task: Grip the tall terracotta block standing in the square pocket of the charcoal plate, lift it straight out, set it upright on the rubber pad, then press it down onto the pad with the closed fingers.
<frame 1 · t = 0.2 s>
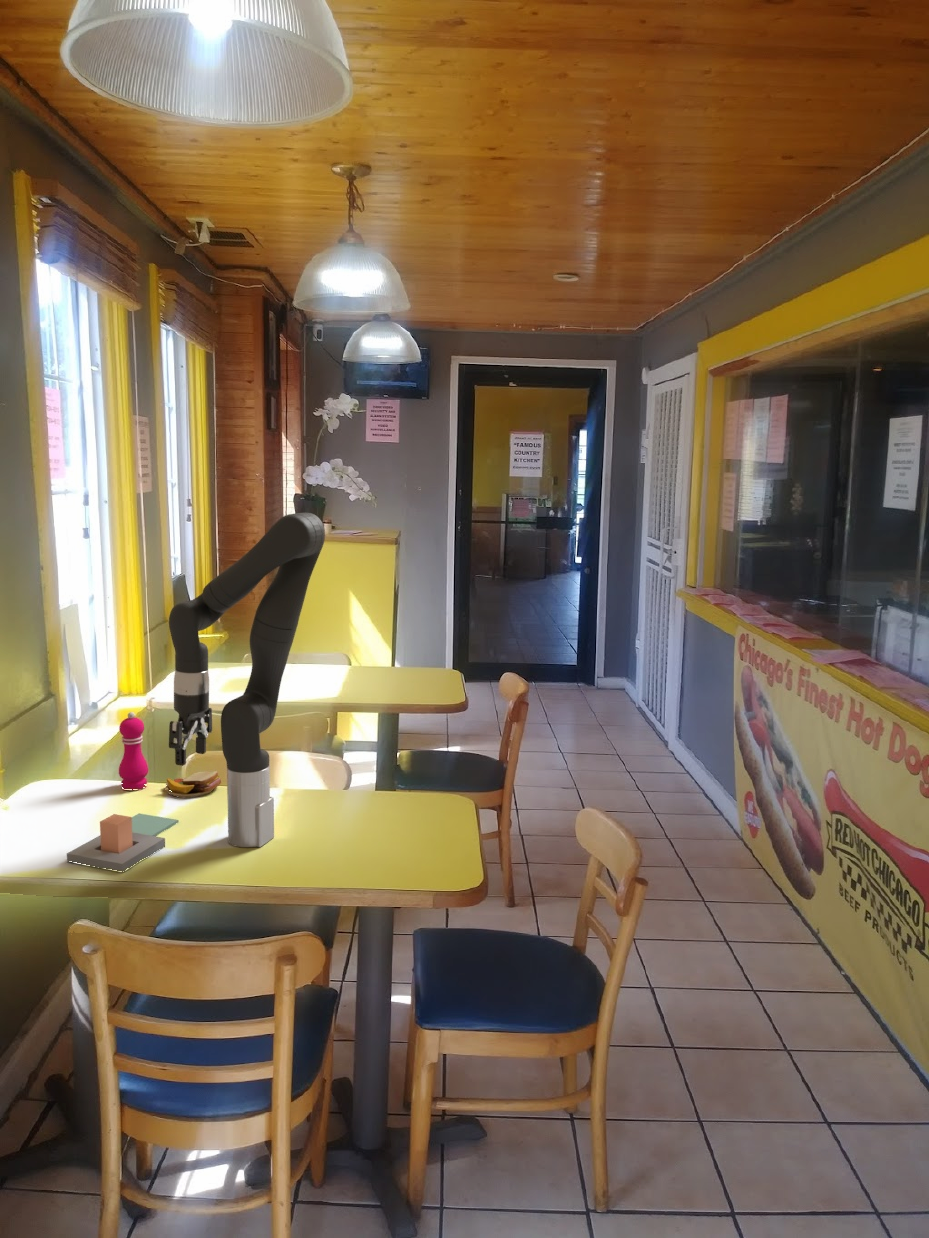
hand: (190, 758, 205), 17 cm above the table, tool pointing down, fingers open, 8 cm apart
toy sandwich meal: (193, 791, 235), on the table
pepper mill: (134, 787, 236), on the table
rubber pad: (143, 827, 210), on the table
terracotta block: (116, 836, 195), in the pocket plate
pocket plate: (117, 854, 196), on the table
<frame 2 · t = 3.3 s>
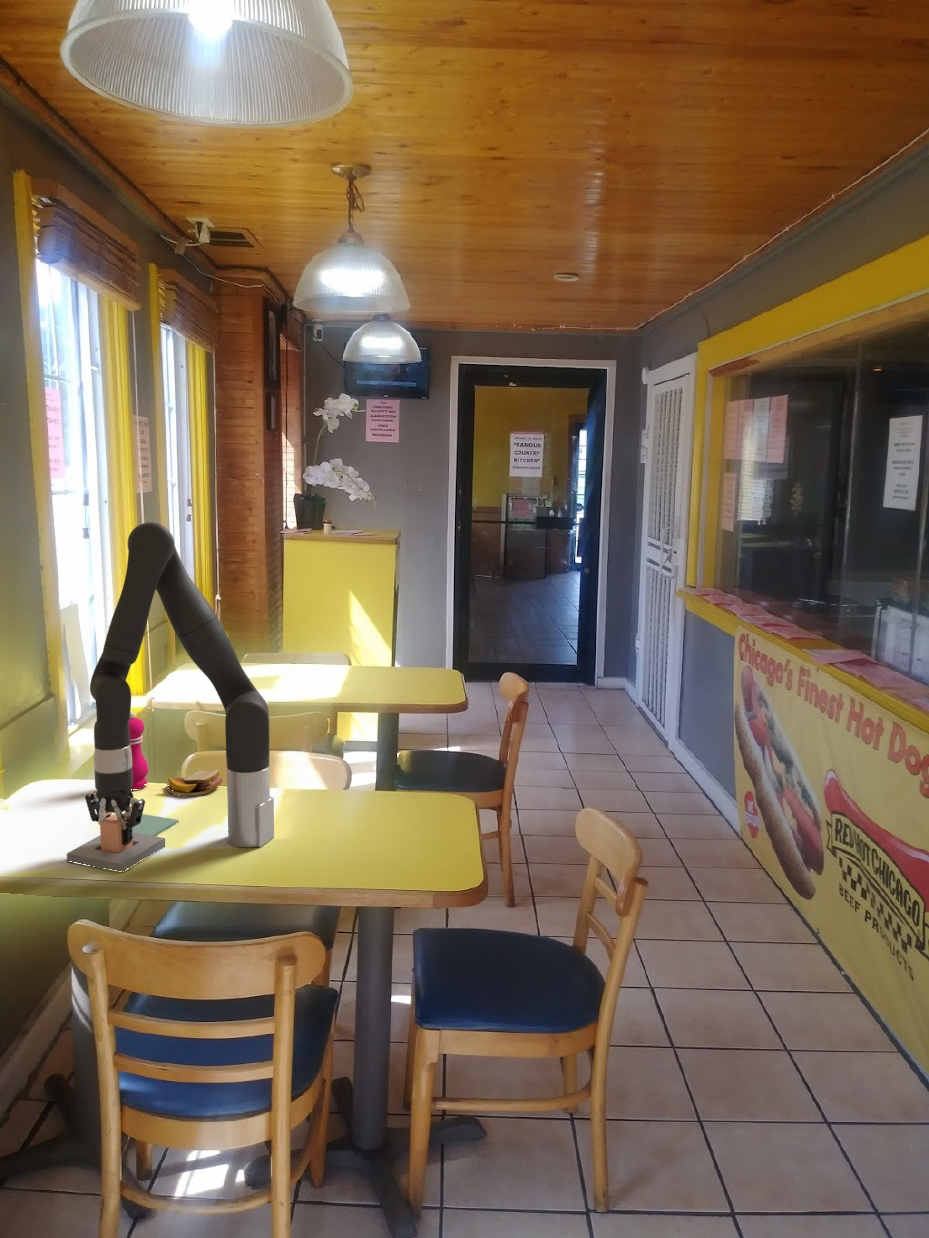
hand: (116, 841, 196), 3 cm above the table, tool pointing down, fingers closed on terracotta block, 4 cm apart
terracotta block: (116, 836, 195), in the pocket plate, touching gripper
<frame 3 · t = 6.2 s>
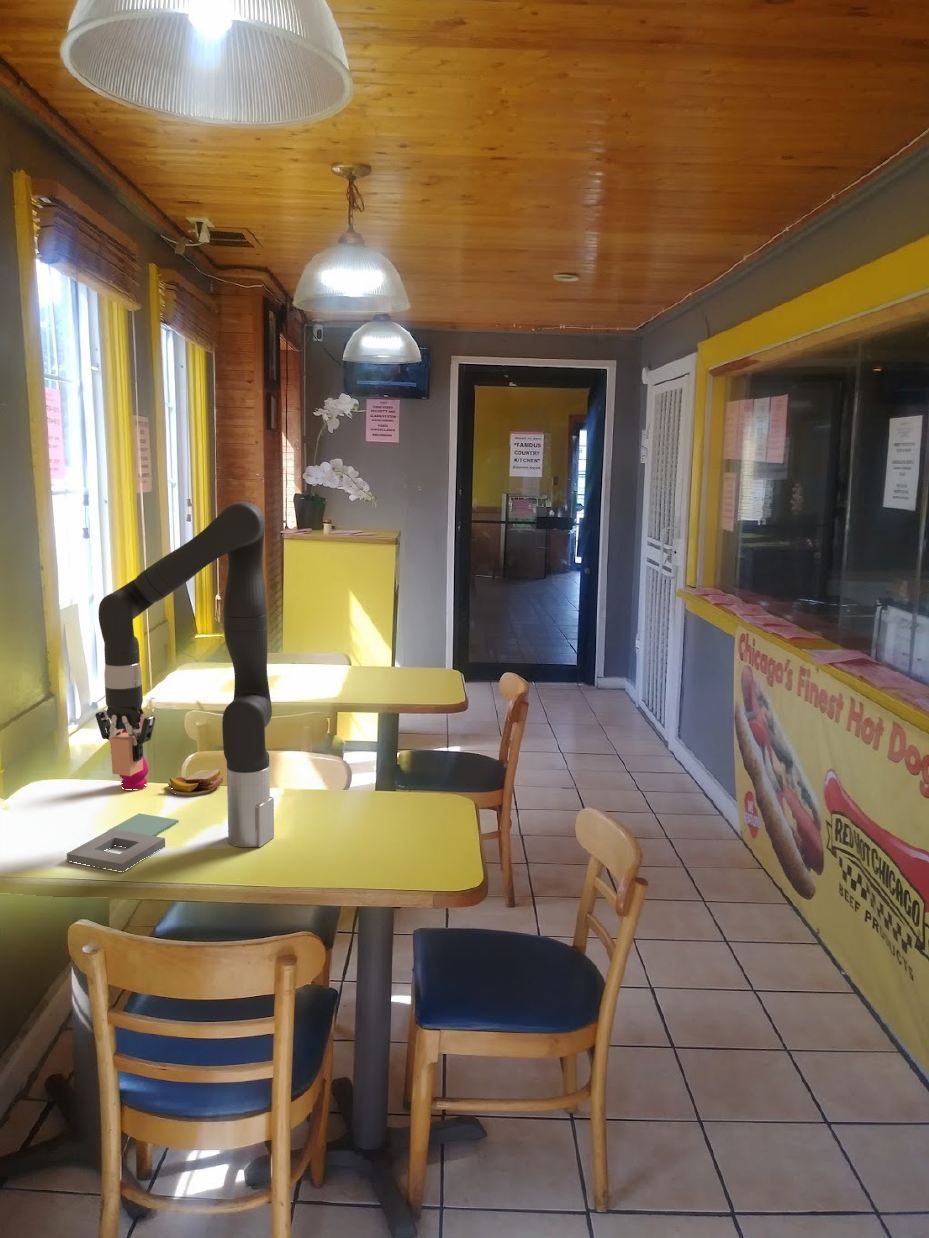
hand: (127, 758, 199), 19 cm above the table, tool pointing down, fingers closed on terracotta block, 4 cm apart
terracotta block: (127, 754, 199), point 20 cm above the table, touching gripper
when the fingers open (5 cm above the table, at t = 9.1 s): terracotta block drops 1 cm, resting on rubber pad.
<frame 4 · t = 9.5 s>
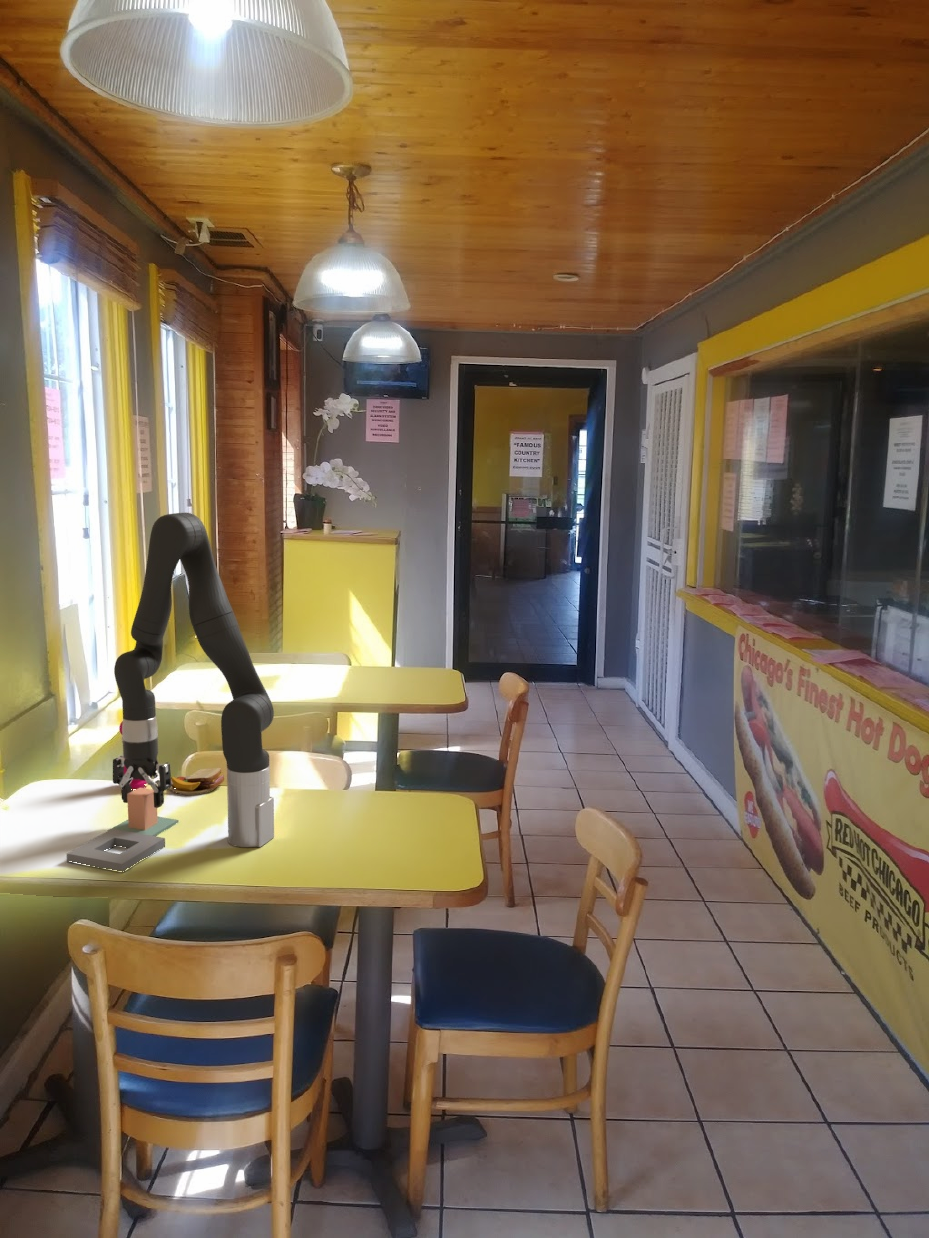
hand: (142, 804, 209), 6 cm above the table, tool pointing down, fingers open, 8 cm apart
terracotta block: (142, 808, 210), on the rubber pad, point 5 cm above the table
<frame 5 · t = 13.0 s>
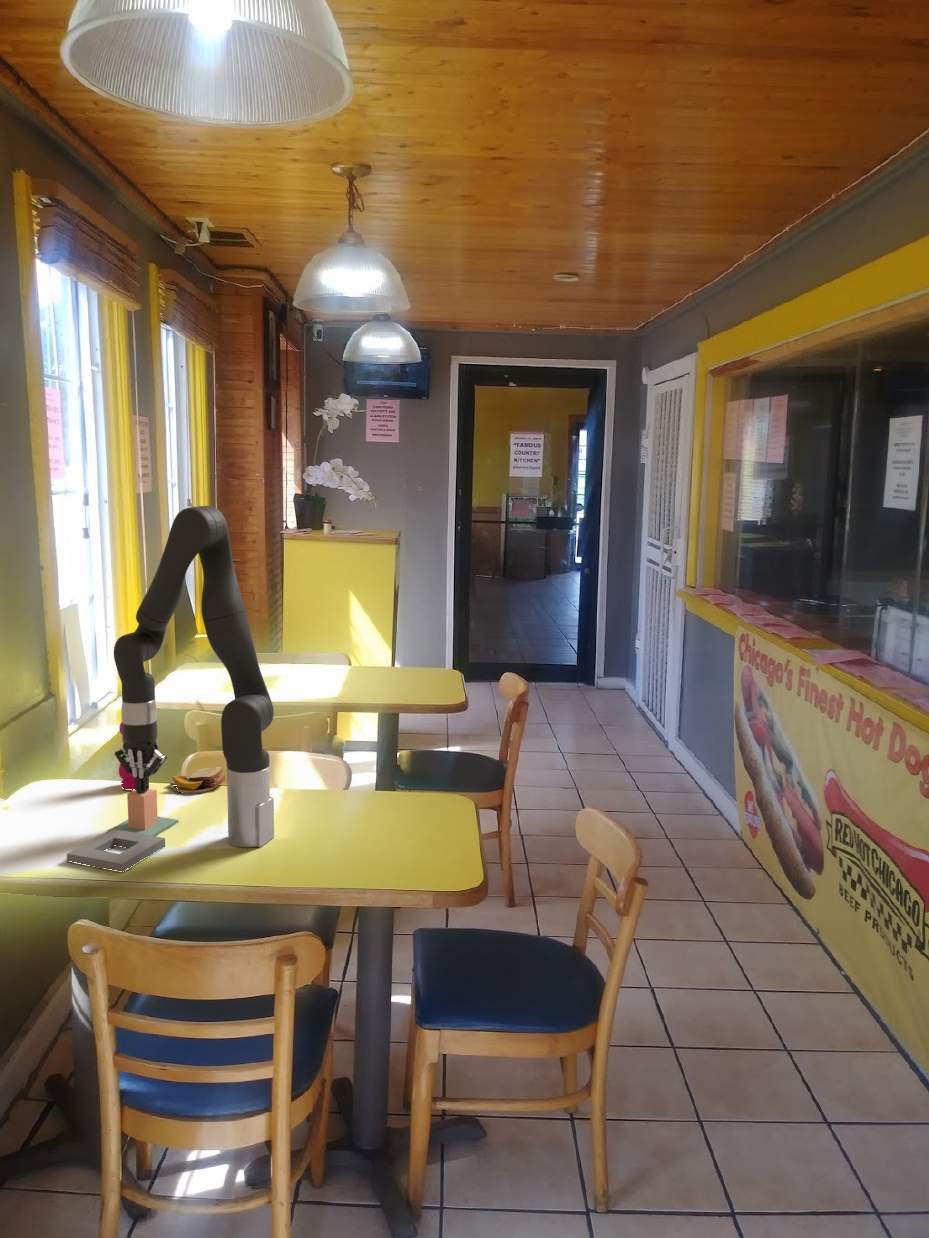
hand: (141, 792, 209), 9 cm above the table, tool pointing down, fingers closed
terracotta block: (142, 808, 210), on the rubber pad, point 5 cm above the table, touching gripper
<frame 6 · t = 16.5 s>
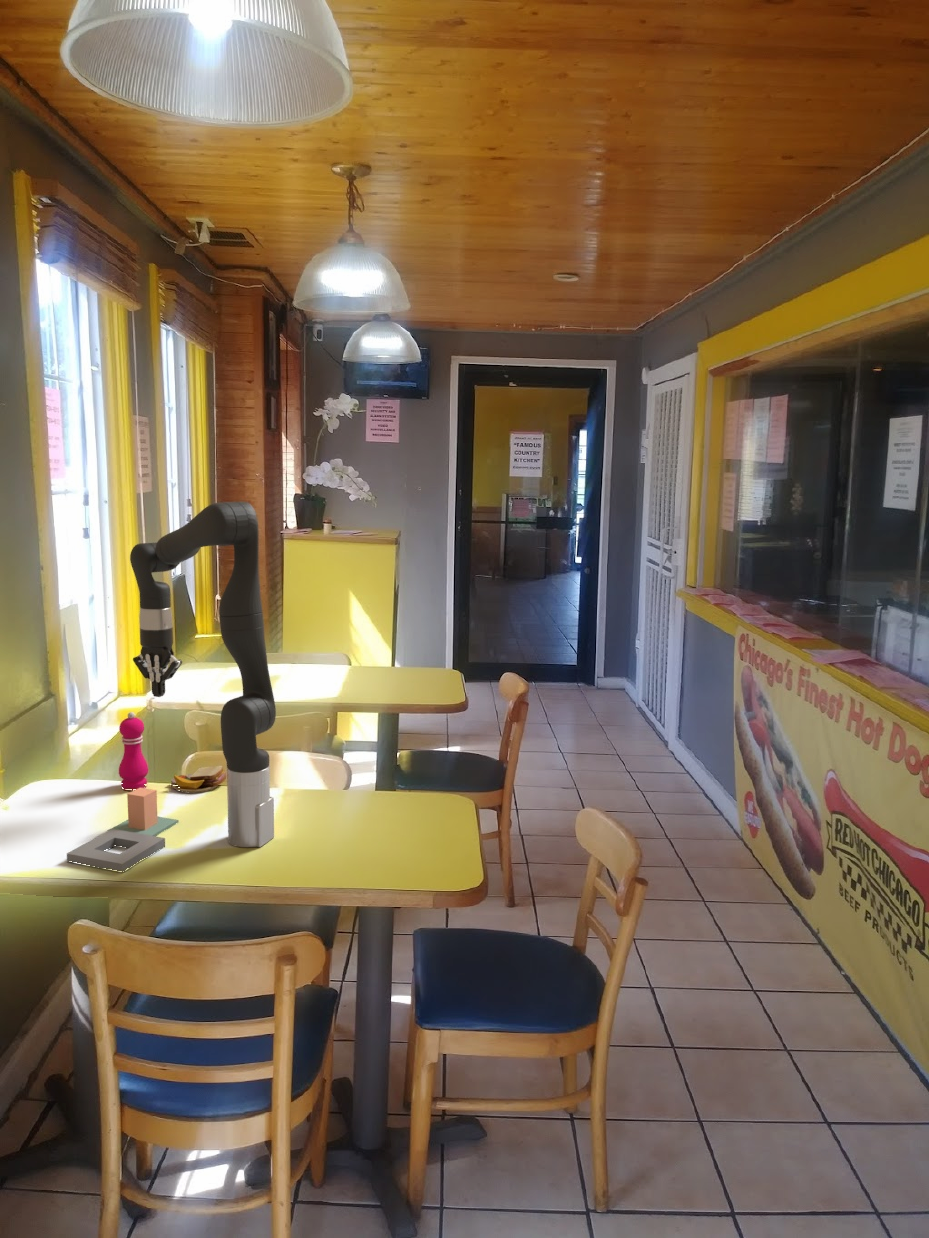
hand: (158, 696, 222), 27 cm above the table, tool pointing down, fingers closed
terracotta block: (142, 808, 210), on the rubber pad, point 5 cm above the table
at the end: terracotta block 0.1 cm off-centre on the rubber pad, point 4.6 cm above the rubber pad's base; terracotta block tilted 0°; the gripper is holding nothing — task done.
